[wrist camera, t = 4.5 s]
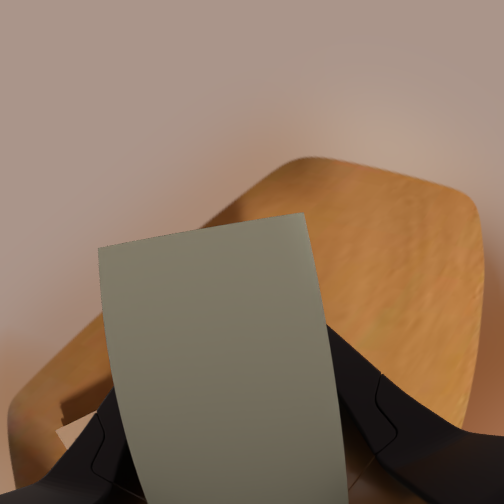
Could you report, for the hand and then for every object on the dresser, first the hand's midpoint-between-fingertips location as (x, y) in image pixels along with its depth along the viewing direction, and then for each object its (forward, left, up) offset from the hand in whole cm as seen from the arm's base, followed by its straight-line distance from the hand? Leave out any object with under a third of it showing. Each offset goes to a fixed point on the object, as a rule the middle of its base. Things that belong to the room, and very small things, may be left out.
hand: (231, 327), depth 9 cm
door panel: (-1, +1, -7) cm, 7 cm away
